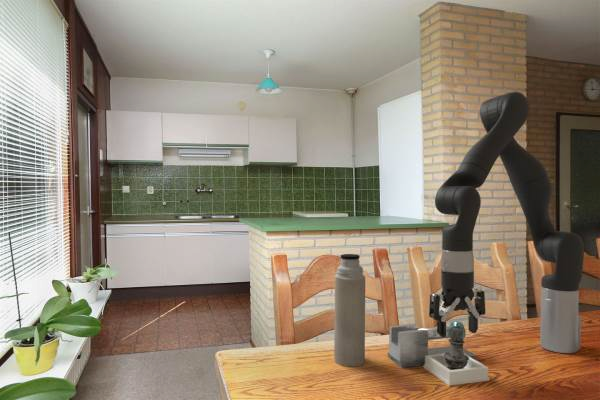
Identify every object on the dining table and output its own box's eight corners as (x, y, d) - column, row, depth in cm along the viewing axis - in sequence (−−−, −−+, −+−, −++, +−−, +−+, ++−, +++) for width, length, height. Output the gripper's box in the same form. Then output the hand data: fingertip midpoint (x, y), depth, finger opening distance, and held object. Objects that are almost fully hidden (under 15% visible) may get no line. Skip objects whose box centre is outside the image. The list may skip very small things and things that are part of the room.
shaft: (454, 337, 124) (454, 319, 124) (465, 343, 120) (465, 324, 119) (413, 341, 121) (413, 322, 121) (423, 347, 116) (423, 328, 116)
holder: (461, 362, 116) (461, 351, 116) (489, 380, 106) (489, 367, 106) (423, 367, 113) (423, 355, 113) (449, 385, 103) (449, 372, 103)
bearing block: (458, 348, 127) (458, 318, 126) (476, 359, 119) (477, 327, 119) (387, 356, 121) (387, 325, 120) (402, 367, 113) (402, 334, 113)
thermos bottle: (346, 352, 123) (347, 251, 122) (370, 360, 118) (371, 254, 117) (328, 360, 117) (328, 254, 117) (352, 369, 112) (353, 258, 111)
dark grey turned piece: (470, 377, 106) (471, 327, 106) (444, 374, 107) (445, 325, 107) (466, 367, 112) (467, 319, 112) (442, 365, 113) (443, 318, 113)
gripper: (472, 263, 114) (472, 326, 115) (423, 267, 110) (423, 332, 111) (492, 269, 107) (492, 336, 108) (440, 273, 103) (440, 342, 104)
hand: (457, 334), depth 109 cm, fingers open, 8 cm apart
